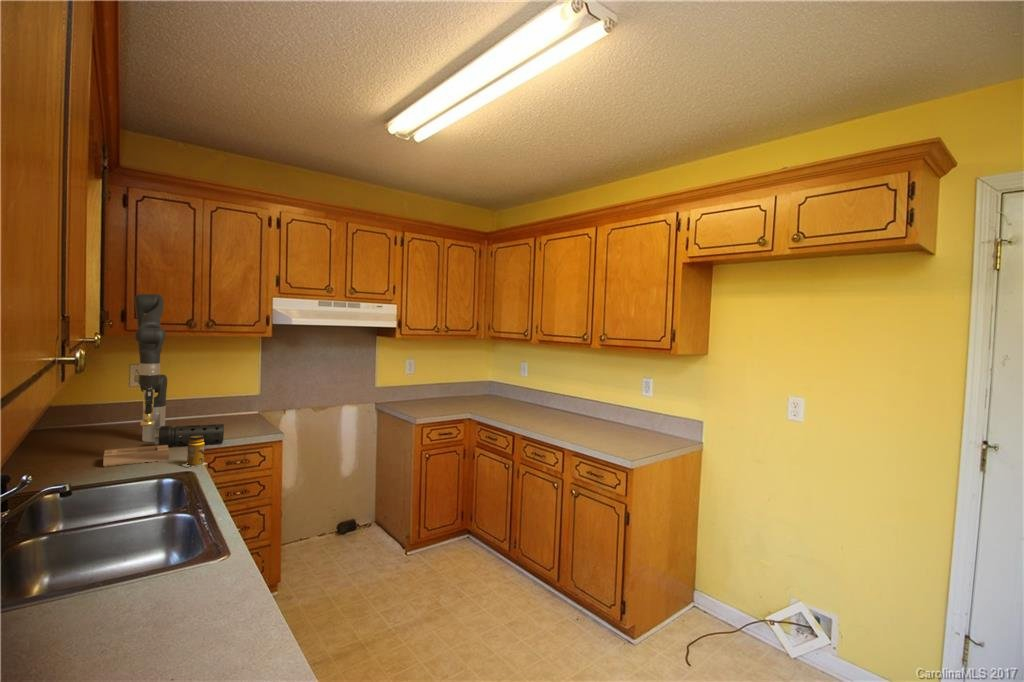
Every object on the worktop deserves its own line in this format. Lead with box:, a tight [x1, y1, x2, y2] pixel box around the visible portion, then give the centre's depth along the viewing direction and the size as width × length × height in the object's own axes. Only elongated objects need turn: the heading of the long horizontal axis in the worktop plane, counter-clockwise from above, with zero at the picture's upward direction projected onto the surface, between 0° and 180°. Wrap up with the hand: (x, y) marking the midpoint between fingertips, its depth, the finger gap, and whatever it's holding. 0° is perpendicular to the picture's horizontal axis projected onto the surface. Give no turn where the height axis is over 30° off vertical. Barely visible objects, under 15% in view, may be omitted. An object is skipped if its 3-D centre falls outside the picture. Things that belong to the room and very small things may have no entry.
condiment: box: [186, 435, 208, 468], centre depth 210 cm, size 7×8×12 cm
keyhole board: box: [102, 445, 170, 467], centre depth 212 cm, size 12×22×4 cm, turn 128°
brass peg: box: [140, 395, 155, 427], centre depth 213 cm, size 5×5×14 cm
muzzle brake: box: [154, 423, 225, 448], centre depth 241 cm, size 10×28×10 cm, turn 120°
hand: (148, 412), depth 213 cm, fingers closed on brass peg, 3 cm apart
